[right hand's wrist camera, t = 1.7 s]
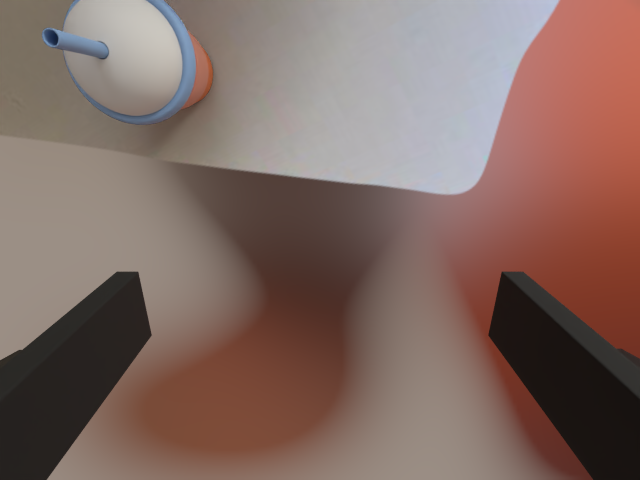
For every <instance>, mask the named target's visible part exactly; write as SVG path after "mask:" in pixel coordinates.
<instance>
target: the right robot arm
mask: <svg viewBox="0 0 640 480" xmlns="http://www.w3.org/2000/svg"><path fill="white" fill-rule="evenodd" d="M150 337H151V330H150V325H149V321H148V316H147V311H146V307H145V302H144V297H143V292H142V288H141V283H140V278H139V273H138V272H116V273H115V274H114V275H112V276H111V277H110V278H109V279H108V280H106V281H105V282H104V283H103V284H102V285H100V286H99V287H98V288H97V289H96V290H94V291H93V292H92V293H91V294H89V295H88V296H87V297H86V298H85V299H83V300H82V301H81V302H80V303H79V304H77V305H76V306H75V307H74V308H73V309H71V310H70V311H69V312H68V313H67V314H65V315H64V316H63V317H62V318H60V319H59V320H58V321H57V322H56V323H55V324H53V325H52V326H51V327H50V328H48V329H47V330H46V331H45V332H44V333H42V334H41V335H40V336H39V337H38V338H36V339H35V340H34V341H33V342H31V343H30V344H29V345H28V346H27V347H25V348H24V349H23V350H18V351H16V352H15V353H13V354H11V355H9V356H7V357H5V358H4V359H2V360H0V480H47V478H48V477H49V476H50V474H51V473H52V472H53V470H54V469H55V467H56V466H57V465H58V463H59V462H60V461H61V459H62V458H63V456H64V455H65V454H66V452H67V451H68V450H69V448H70V447H71V445H72V444H73V443H74V441H75V440H76V439H77V437H78V436H79V434H80V433H81V432H82V430H83V429H84V428H85V426H86V425H87V423H88V422H89V421H90V419H91V418H92V417H93V415H94V414H95V412H96V411H97V410H98V408H99V407H100V406H101V404H102V403H103V401H104V400H105V399H106V397H107V396H108V395H109V393H110V392H111V390H112V389H113V388H114V386H115V385H116V384H117V382H118V381H119V379H120V378H121V377H122V375H123V374H124V373H125V371H126V370H127V368H128V367H129V366H130V364H131V363H132V362H133V360H134V359H135V357H136V356H137V355H138V353H139V352H140V351H141V349H142V348H143V346H144V345H145V344H146V342H147V341H148V340H149V338H150ZM489 337H490V338H491V340H492V341H493V342H494V344H495V345H496V346H497V348H498V349H499V351H500V352H501V353H502V355H503V356H504V357H505V359H506V360H507V362H508V363H509V364H510V366H511V367H512V368H513V370H514V371H515V373H516V374H517V375H518V377H519V378H520V379H521V381H522V382H523V384H524V385H525V386H526V388H527V389H528V390H529V392H530V393H531V395H532V396H533V397H534V399H535V400H536V401H537V403H538V404H539V406H540V407H541V408H542V410H543V411H544V412H545V414H546V415H547V417H548V418H549V419H550V421H551V422H552V423H553V425H554V426H555V428H556V429H557V430H558V432H559V433H560V434H561V436H562V437H563V438H564V440H565V441H566V443H567V444H568V445H569V447H570V448H571V450H572V451H573V452H574V454H575V455H576V456H577V458H578V459H579V461H580V462H581V463H582V465H583V466H584V467H585V469H586V470H587V472H588V473H589V474H590V476H591V477H592V478H593V480H640V359H639V358H637V357H636V356H634V355H632V354H630V353H628V352H626V351H624V350H623V349H616V348H615V347H613V346H612V345H611V344H610V343H609V342H607V341H606V340H605V339H604V338H602V337H601V336H600V335H599V334H598V333H596V332H595V331H594V330H593V329H592V328H590V327H589V326H588V325H587V324H586V323H584V322H583V321H582V320H581V319H580V318H578V317H577V316H576V315H575V314H573V313H572V312H571V311H570V310H569V309H567V308H566V307H565V306H564V305H563V304H561V303H560V302H559V301H558V300H557V299H555V298H554V297H553V296H552V295H551V294H549V293H548V292H547V291H546V290H544V289H543V288H542V287H541V286H540V285H538V284H537V283H536V282H535V281H534V280H532V279H531V278H530V277H529V276H527V275H526V274H525V273H524V272H502V273H501V278H500V283H499V287H498V292H497V297H496V302H495V306H494V311H493V316H492V321H491V325H490V330H489Z"/></svg>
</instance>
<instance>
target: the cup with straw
mask: <svg viewBox="0 0 640 480" xmlns="http://www.w3.org/2000/svg"><path fill="white" fill-rule="evenodd" d="M42 38H43V41H44V42H45V43H46V44H47V45H48V46H49V47H52V48H57V49H62V50H63V54H64V59H65V62H66V65H67V68H68V70H69V73H70V75H71V77H72V79H73V81H74V82H75V84H76V86H77V87H78V89H79V90H80V91H81V93H82V94H83V95H84V96H85V97H86V98H87V100H88V101H89V102H91V103H92V104H93V105H94V106H95V107H96V108H98V109H99V110H100V111H102V112H103V113H105V114H106V115H108V116H110V117H112V118H114V119H117V120H119V121H122V122H126V123H130V124H137V125H147V124H154V123H158V122H161V121H164V120H166V119H168V118H170V117H172V116H173V115H174V114H176V113H177V112H178V111H179V110H181V109H184V108H187V107H189V106H191V105H193V104H194V103H196V102H198V101H200V100H201V99H203V98H204V97H205V96H206V94H207V93H208V92H209V90H210V87H211V85H212V80H213V69H212V64H211V61H210V59H209V57H208V55H207V53H206V52H205V50H204V49H203V48H202V47H201V45H200V44H199V42H198V41H197V40H196V38H195V37H194V36H193V35H192V34H191V33H190V32H189V31H188V30H187V29H186V28H185V26H184V24H183V22H182V21H181V19H180V18H179V16H178V15H177V14H176V13H175V11H174V10H173V9H172V8H171V7H170V6H169V5H168V4H167V3H166V2H165V1H164V0H74V2H73V3H72V5H71V6H70V8H69V10H68V12H67V14H66V17H65V20H64V24H63V30H62V31H60V30H56V29H53V28H46V29H44V30H43V32H42Z"/></svg>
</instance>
